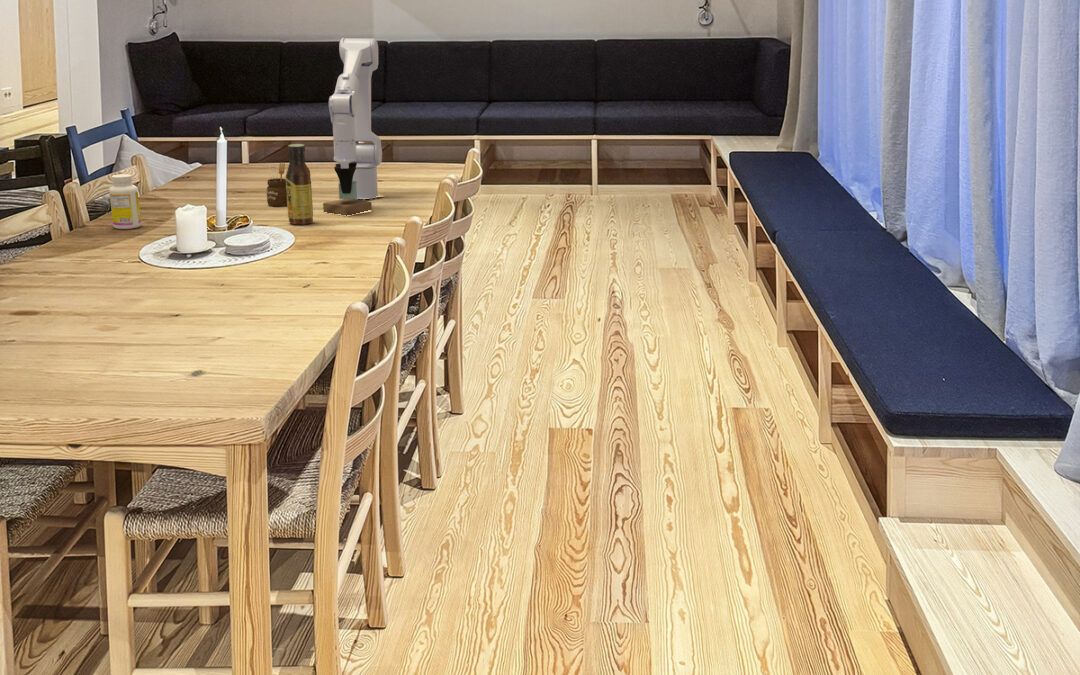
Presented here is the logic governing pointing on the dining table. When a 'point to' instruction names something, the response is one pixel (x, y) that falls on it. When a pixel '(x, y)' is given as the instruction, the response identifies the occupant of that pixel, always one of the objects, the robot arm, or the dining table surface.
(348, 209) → the walnut slab
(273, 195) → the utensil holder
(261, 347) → the dining table surface
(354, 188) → the teal block
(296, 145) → the sauce bottle
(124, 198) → the supplement bottle
